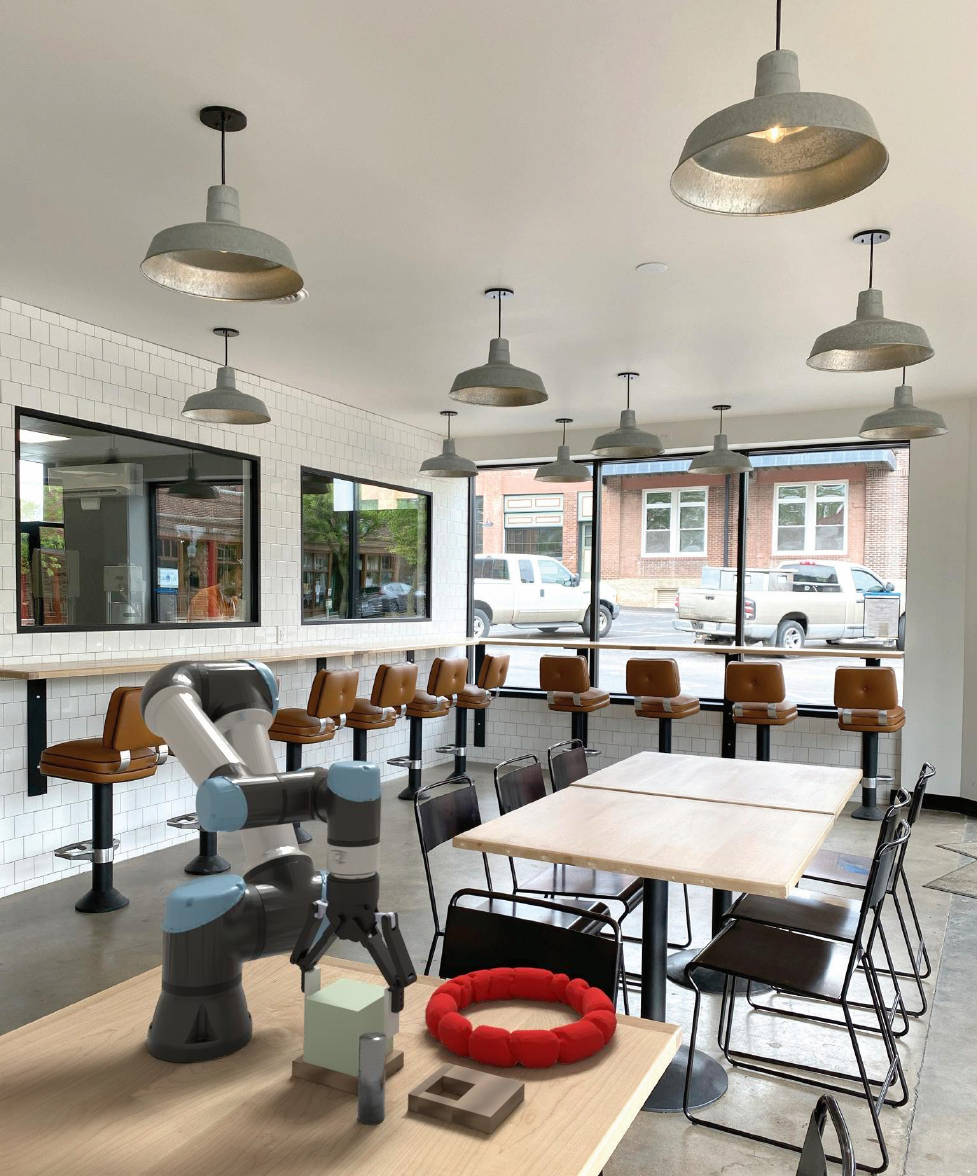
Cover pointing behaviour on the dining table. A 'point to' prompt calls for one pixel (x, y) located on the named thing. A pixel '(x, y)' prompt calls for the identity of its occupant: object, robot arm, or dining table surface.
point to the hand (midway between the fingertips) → (350, 1025)
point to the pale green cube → (342, 1024)
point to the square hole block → (467, 1097)
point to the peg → (371, 1078)
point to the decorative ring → (521, 1044)
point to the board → (341, 1079)
